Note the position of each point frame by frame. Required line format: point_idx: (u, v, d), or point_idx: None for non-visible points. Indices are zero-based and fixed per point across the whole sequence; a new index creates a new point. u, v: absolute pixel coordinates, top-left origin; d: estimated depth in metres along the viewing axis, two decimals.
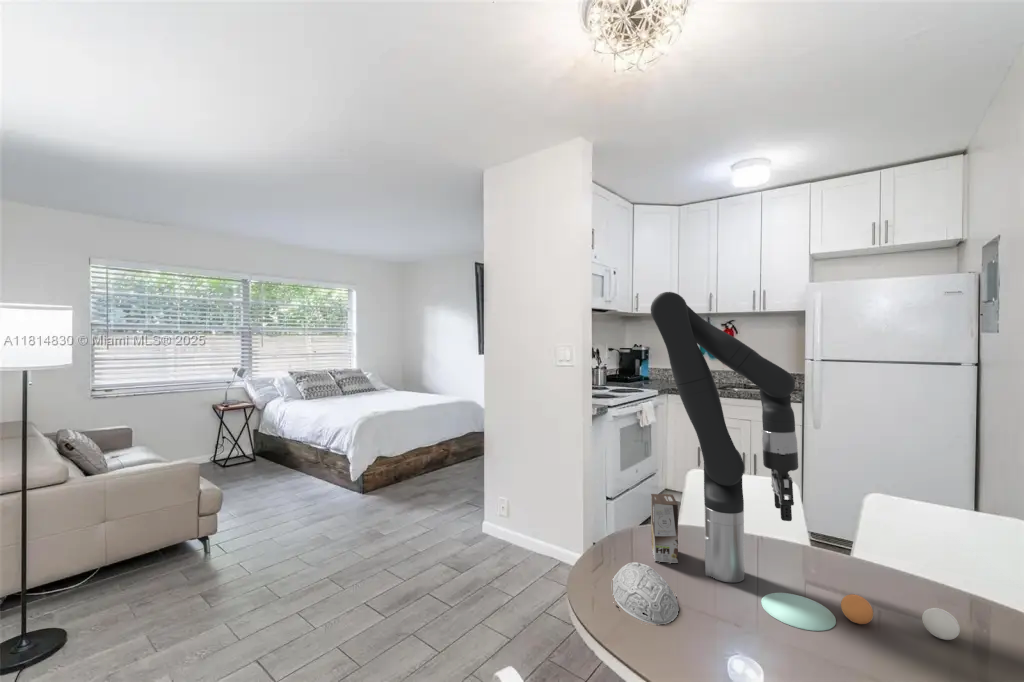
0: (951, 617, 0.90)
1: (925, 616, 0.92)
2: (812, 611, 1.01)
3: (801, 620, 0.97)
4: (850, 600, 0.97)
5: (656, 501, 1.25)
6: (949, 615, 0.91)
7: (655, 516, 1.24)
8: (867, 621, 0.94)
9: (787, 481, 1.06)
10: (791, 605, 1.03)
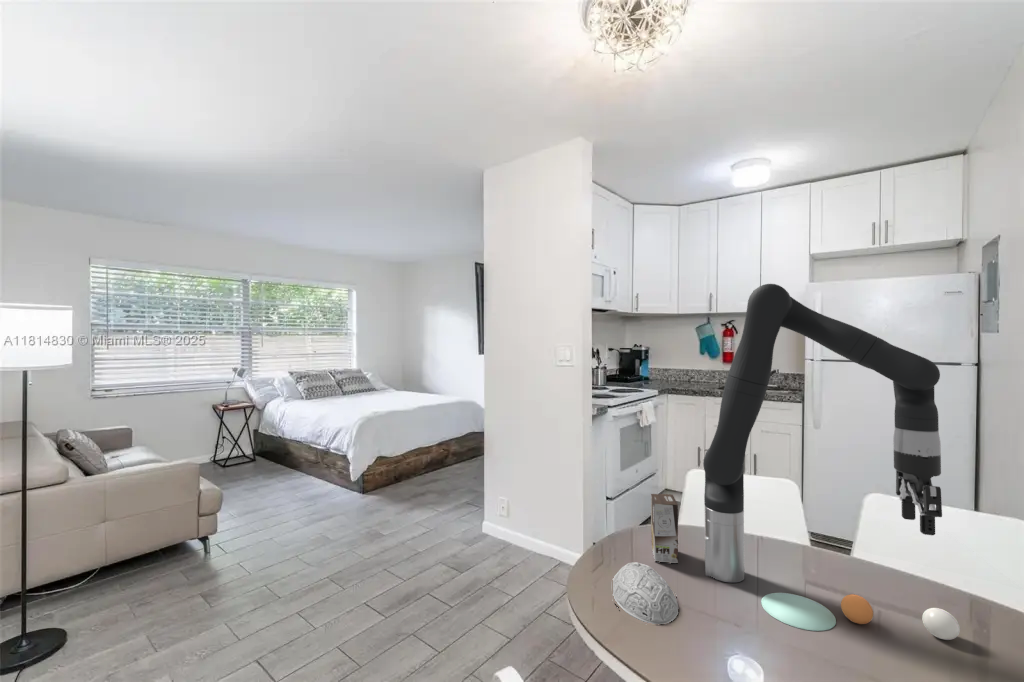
0: (951, 617, 0.90)
1: (925, 616, 0.92)
2: (812, 611, 1.01)
3: (801, 620, 0.97)
4: (850, 600, 0.97)
5: (656, 501, 1.25)
6: (949, 615, 0.91)
7: (655, 516, 1.24)
8: (867, 621, 0.94)
9: (934, 488, 0.90)
10: (791, 605, 1.03)
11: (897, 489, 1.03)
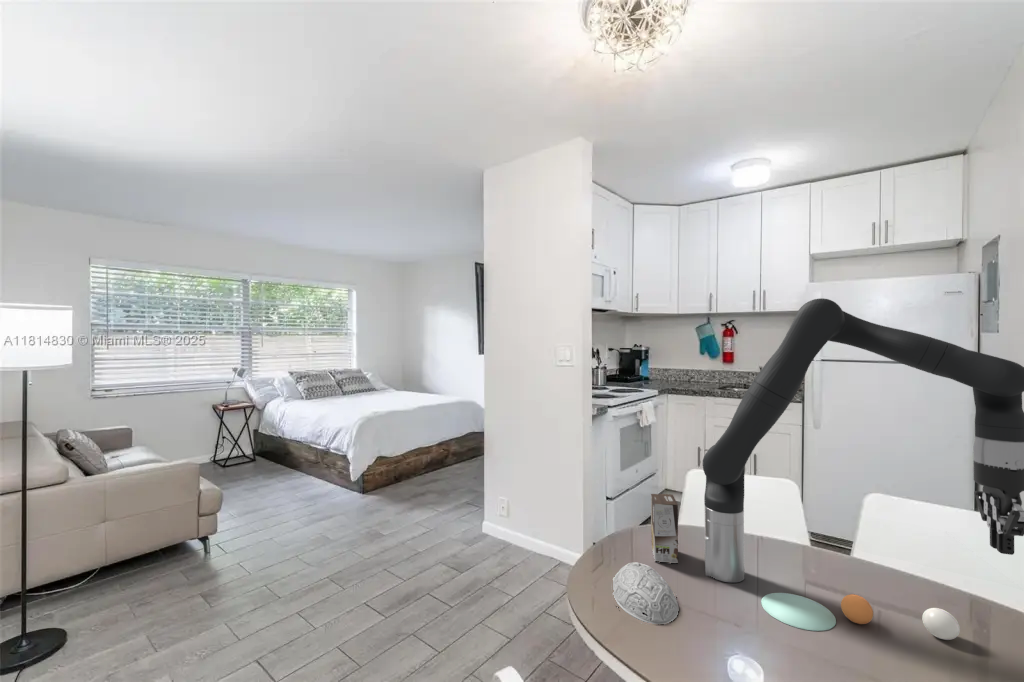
0: (951, 617, 0.90)
1: (925, 616, 0.92)
2: (812, 611, 1.01)
3: (801, 620, 0.97)
4: (850, 600, 0.97)
5: (656, 501, 1.25)
6: (949, 615, 0.91)
7: (655, 516, 1.24)
8: (867, 621, 0.94)
9: None
10: (791, 605, 1.03)
11: (982, 513, 0.92)
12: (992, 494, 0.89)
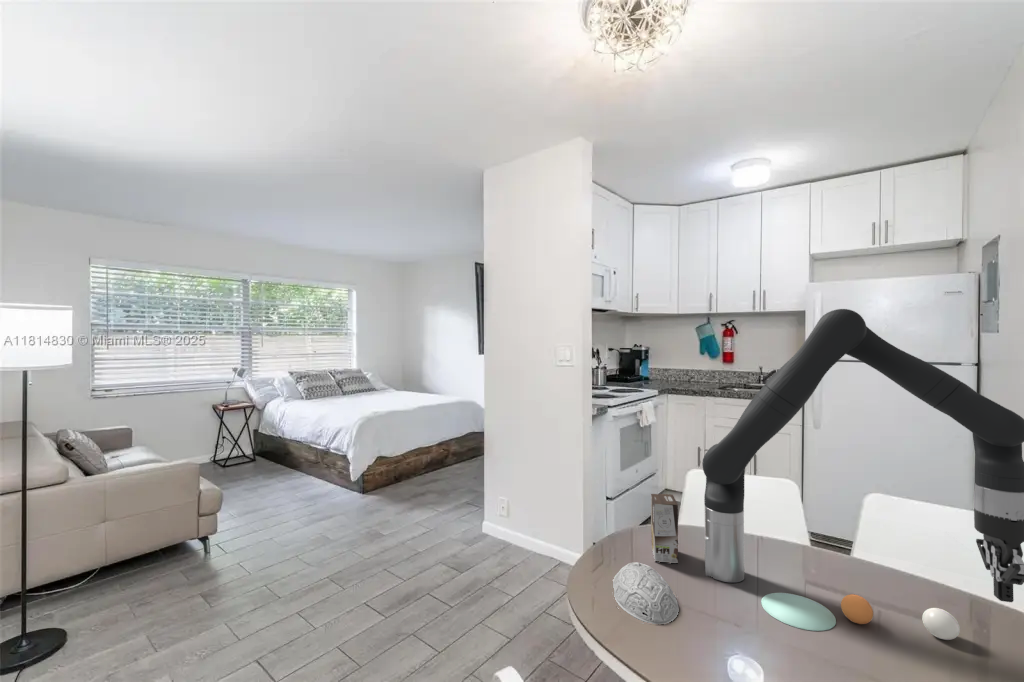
0: (951, 617, 0.90)
1: (925, 616, 0.92)
2: (812, 611, 1.01)
3: (801, 620, 0.97)
4: (850, 600, 0.97)
5: (656, 501, 1.25)
6: (949, 615, 0.91)
7: (655, 516, 1.24)
8: (867, 621, 0.94)
9: None
10: (791, 605, 1.03)
11: (985, 562, 0.91)
12: (993, 542, 0.89)
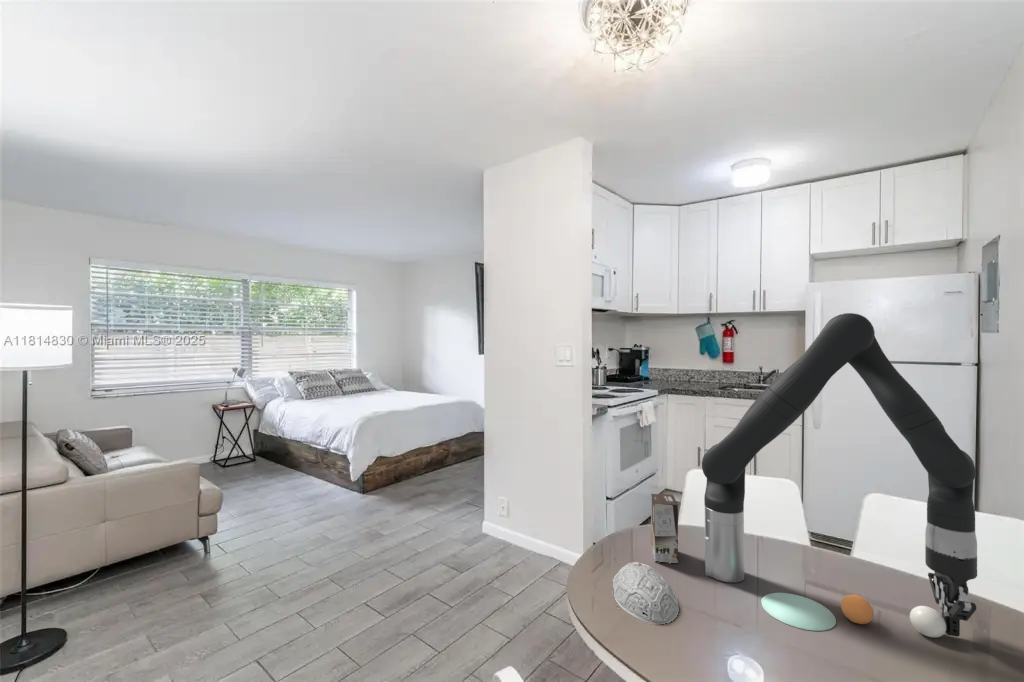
0: (930, 612, 0.91)
1: (911, 621, 0.93)
2: (812, 611, 1.01)
3: (801, 620, 0.97)
4: (850, 600, 0.97)
5: (656, 501, 1.25)
6: (927, 611, 0.92)
7: (655, 516, 1.24)
8: (867, 621, 0.94)
9: (969, 608, 0.86)
10: (791, 605, 1.03)
11: (935, 596, 0.95)
12: (942, 578, 0.92)
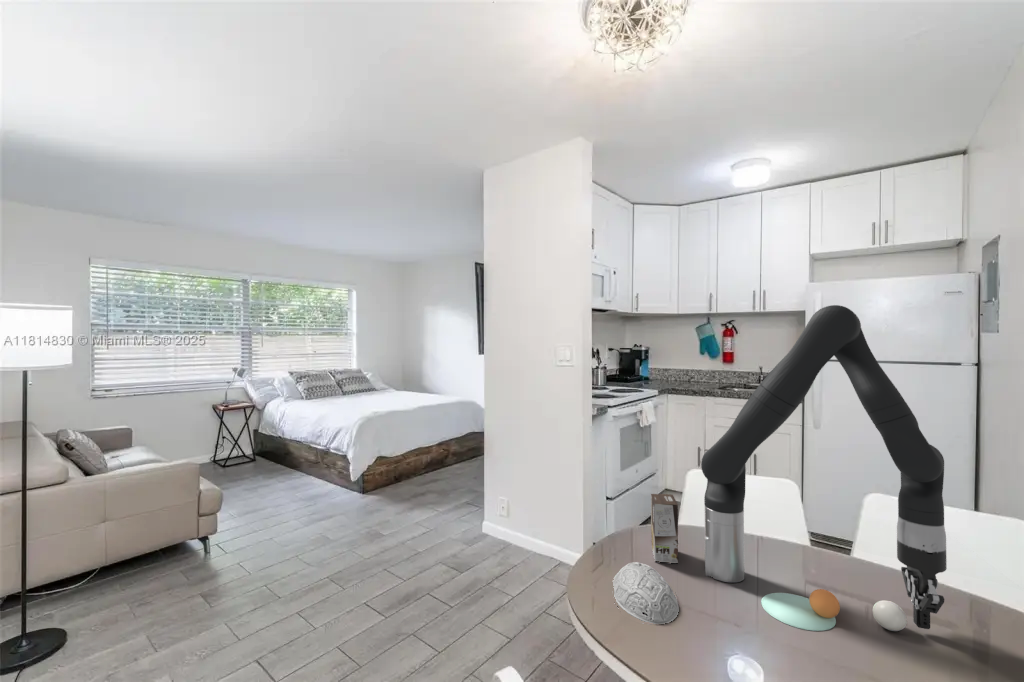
0: (880, 624, 0.94)
1: None
2: (812, 611, 1.01)
3: (801, 620, 0.97)
4: None
5: (656, 501, 1.25)
6: None
7: (655, 516, 1.24)
8: (828, 601, 0.97)
9: (937, 600, 0.87)
10: (791, 605, 1.03)
11: (907, 590, 0.96)
12: (913, 572, 0.94)
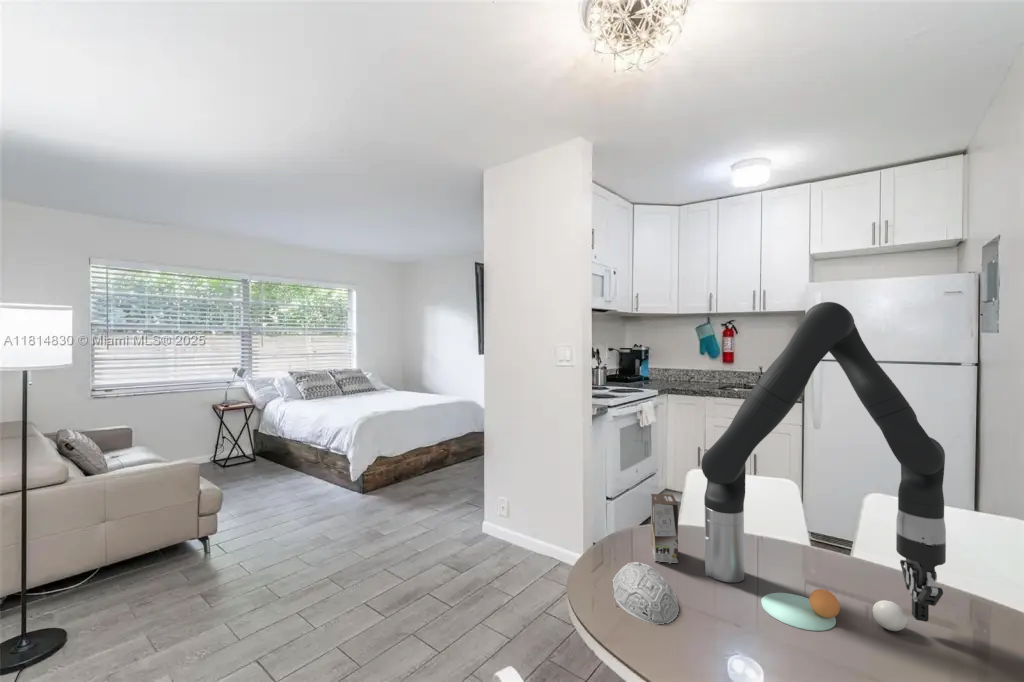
0: (880, 624, 0.94)
1: None
2: (812, 611, 1.01)
3: (801, 620, 0.97)
4: None
5: (656, 501, 1.25)
6: None
7: (655, 516, 1.24)
8: (828, 601, 0.97)
9: (936, 592, 0.87)
10: (791, 605, 1.03)
11: (906, 582, 0.96)
12: (912, 564, 0.94)
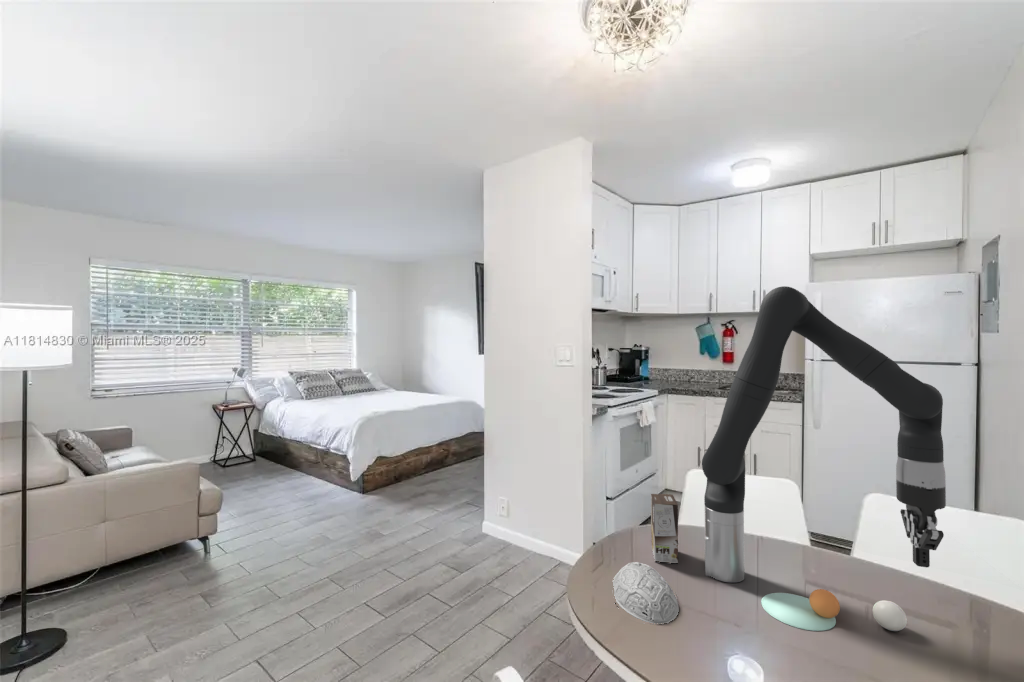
0: (880, 624, 0.94)
1: None
2: (812, 611, 1.01)
3: (801, 620, 0.97)
4: None
5: (656, 501, 1.25)
6: None
7: (655, 516, 1.24)
8: (828, 601, 0.97)
9: (937, 535, 0.87)
10: (791, 605, 1.03)
11: (907, 530, 0.96)
12: (912, 511, 0.94)
